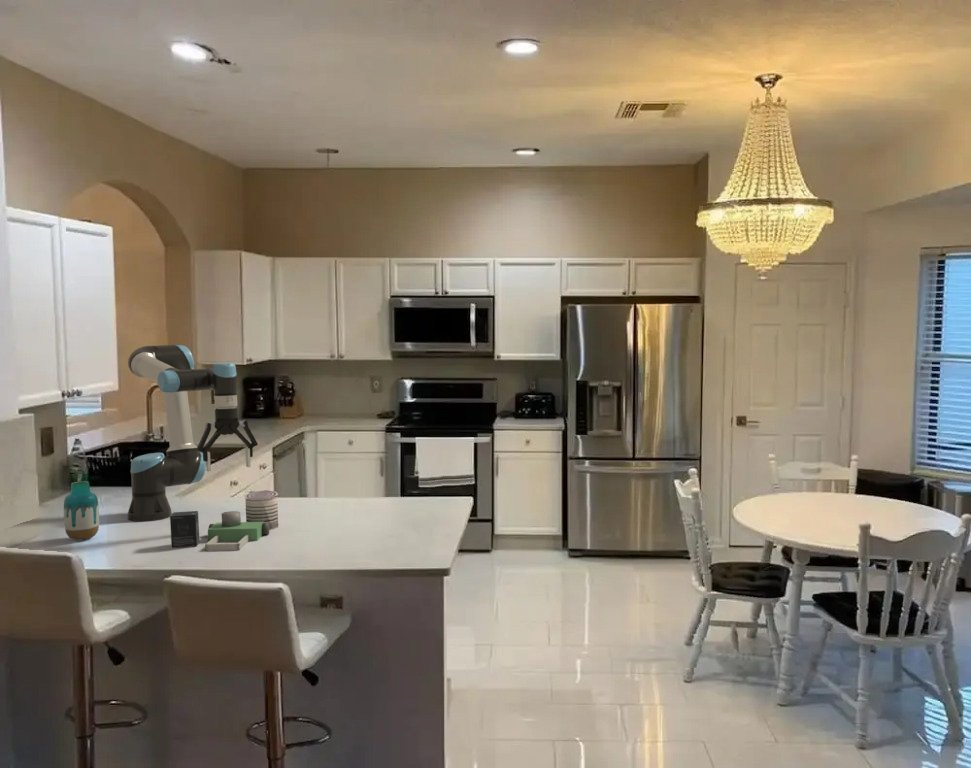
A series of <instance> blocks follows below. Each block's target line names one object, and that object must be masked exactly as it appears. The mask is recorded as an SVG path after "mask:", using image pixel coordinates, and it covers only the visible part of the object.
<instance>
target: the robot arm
mask: <svg viewBox="0 0 971 768" xmlns="http://www.w3.org/2000/svg"><path fill="white" fill-rule="evenodd" d="M127 366H128V368H129V371H130V372H131V373H132V374H133V375H134V376H136V377H139V378H142V379H149V380H151V381H152V382H154V383H155V384H157V385H158V389H159V390H160V391H161V392H162V393H163V399H164V408H165V415H166V416H165V417H166V423H167V424H166V425H167V433H168V441H169V447H168V448H167V450H166V452H165V453H166V455H165V454H164V453H163V452H153V453H152V452H151V453H146V454H142V455H138V456H136V457H134V458H133V459H132V460H131V463H130V472H129V473H130V476H131V481H130V482H131V501H130V503H129V507H128V511H127V520H129V521H132V522H147V521H148V522H150V521H157V520H162V519H166V518H170V516H171V515H172V508H171V504H170V503H169V500H168V498H167V495H166V488H168V487H175V486H183V485H192V484H195V483H199V482H200V481H202V480H203V479H204V476H205V473H206V471H208V472H212V469H211V466H212V465H211V452H210V451H209V450H210V448H211V447H212V446H213V445H214V443H216V441H217V440H218V438H219V437H221V435H222V436H226V435H236V436H237V437H238V438H239V439H240V441H242V443H243V444H244V445H245V446H246V447H245V466H246V467H247V468H251V458H253V457H254V456H253V455H254V454H253V453H254V452H253V451H254V450H253V448H254V447H257V446H258V441H257V440H256V438H255V436H254V435H253V433H252V431H251V429H250V427H249V422H248V420H246V419H243V420H241V421H239V410H238V409H239V408H238V393H237V391H238V387H237V384H238V383H237V374H238V373H237V368H236V364H235V363H233V362H222V363H221V362H219V363H214V364H213V367H210V368H208V367H207V368H196V369H195V368H194V367H195V359H194V357H193V354H192V352H191V350H190V349H189V347H187V346H185V345H183V344H178V345H177V344H171V345H170V344H169V345H168V344H166V345H165V344H164V345H161V344H160V345H144V346H141V347H138V348H137V349H135V350H133V351H132V352H131V353H130V355H129V357H128V360H127ZM196 391H199V392H200V391H213V395H214V408H215V409H214V419H215V421H214V422H213V423H212V422H211V423H210V422H206V423H205V428H204V431H203V434H202V436H201V438H200V440H199V442H198V445H196V444H195V443H194V438H193V429H192V421H191V419H192V418H191V412H190V411H191V410H190V404H189V396H188V395H189V394H188V392H196ZM240 426H241V428H243V430H244V432H245V433H246V435H247V437H248V438H249V440H248V439H247V438H246V437H245V436H244V435H243V434H242V433H241V431H239V430H238V428H239V427H240ZM213 428H215V429H216V430H215V432H214V434H213V435H212V436H211V438H210V439H209V440H208V442H207V439H208V437H209V435H210V433H211V430H213Z"/></svg>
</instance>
